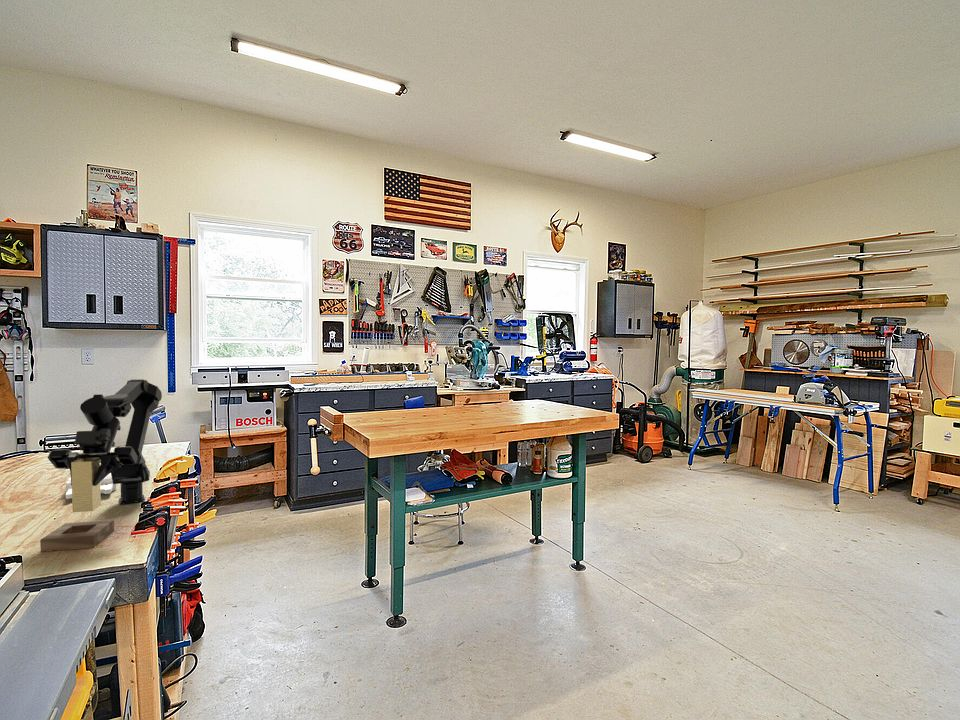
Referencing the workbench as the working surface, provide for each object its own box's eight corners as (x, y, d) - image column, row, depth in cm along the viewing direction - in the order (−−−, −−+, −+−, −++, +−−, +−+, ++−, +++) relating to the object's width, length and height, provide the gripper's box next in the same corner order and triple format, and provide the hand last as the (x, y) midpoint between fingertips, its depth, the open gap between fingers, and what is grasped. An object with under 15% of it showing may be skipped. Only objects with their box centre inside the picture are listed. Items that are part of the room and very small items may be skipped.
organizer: (121, 461, 189) (114, 483, 159) (121, 473, 189) (114, 498, 160) (77, 465, 182) (61, 489, 152) (78, 478, 182) (61, 505, 153)
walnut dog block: (65, 534, 129) (65, 523, 129) (114, 530, 132) (114, 519, 131) (40, 551, 118) (40, 539, 118) (94, 547, 121) (93, 535, 121)
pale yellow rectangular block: (81, 506, 130) (80, 458, 129) (100, 505, 131) (99, 457, 131) (72, 512, 126) (71, 462, 125) (92, 511, 127) (91, 461, 126)
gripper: (50, 419, 129) (25, 472, 119) (132, 417, 134) (115, 467, 124) (67, 442, 137) (45, 494, 127) (144, 439, 142) (129, 488, 132)
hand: (83, 485), depth 127 cm, fingers closed on pale yellow rectangular block, 4 cm apart
